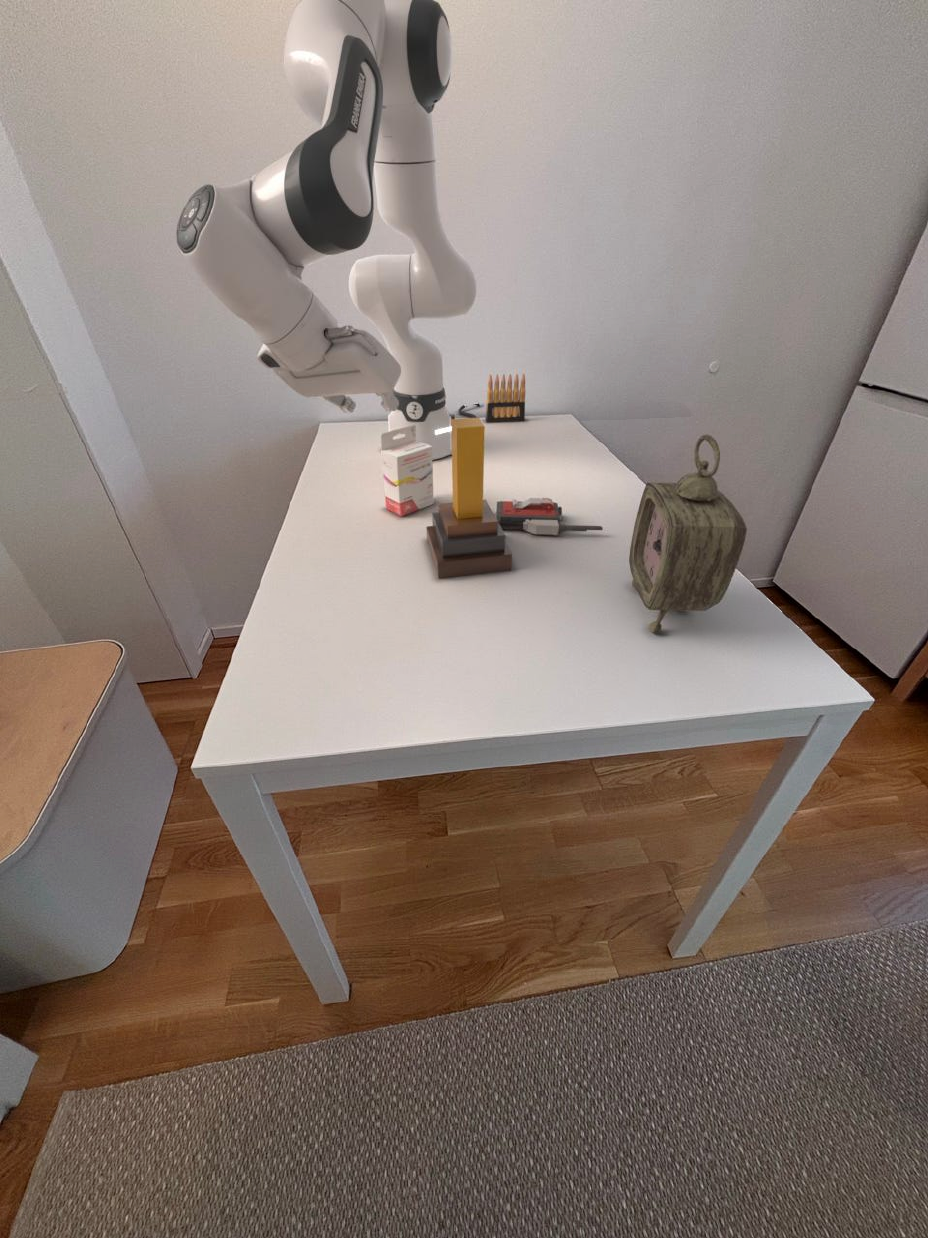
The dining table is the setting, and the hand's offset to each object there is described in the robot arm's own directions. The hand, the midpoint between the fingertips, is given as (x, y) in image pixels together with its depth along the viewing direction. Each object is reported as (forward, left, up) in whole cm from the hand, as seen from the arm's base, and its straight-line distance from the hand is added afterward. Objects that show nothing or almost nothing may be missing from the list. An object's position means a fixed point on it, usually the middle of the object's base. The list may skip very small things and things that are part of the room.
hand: (371, 408), depth 77 cm
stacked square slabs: (+3, +15, -23) cm, 27 cm away
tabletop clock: (+15, +45, -23) cm, 53 cm away
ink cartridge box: (-14, +2, -23) cm, 26 cm away
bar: (+3, +15, -15) cm, 21 cm away
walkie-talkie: (-9, +28, -23) cm, 37 cm away
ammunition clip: (-69, +18, -23) cm, 74 cm away
